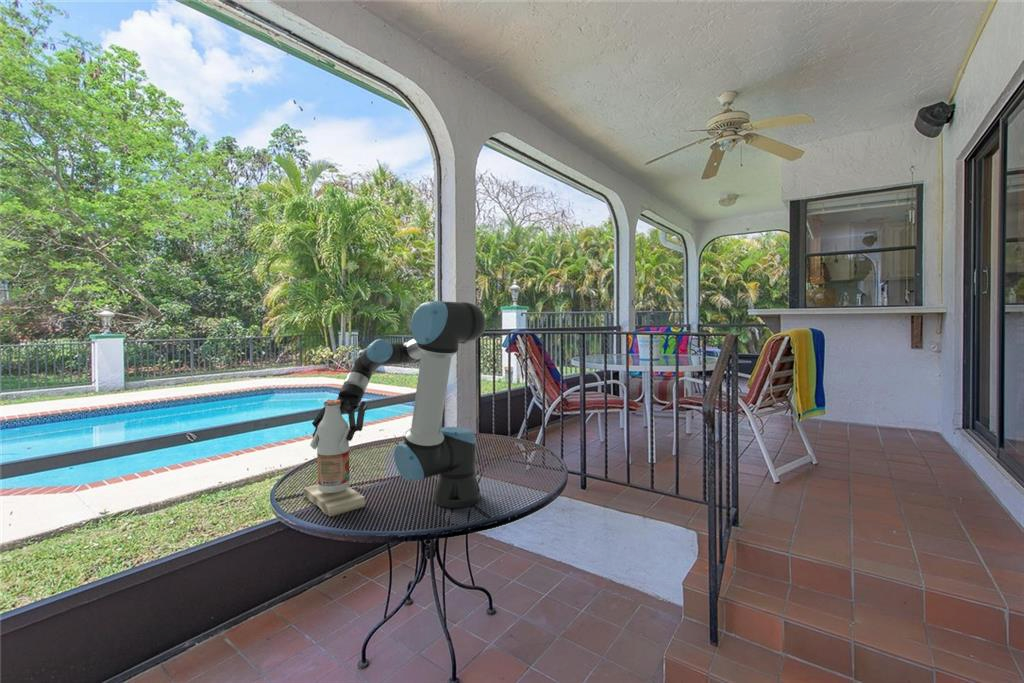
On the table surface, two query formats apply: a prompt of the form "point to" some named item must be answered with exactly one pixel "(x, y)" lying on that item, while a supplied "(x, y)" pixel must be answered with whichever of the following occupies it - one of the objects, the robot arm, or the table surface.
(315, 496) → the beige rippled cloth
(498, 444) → the table surface
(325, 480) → the fruit juice
